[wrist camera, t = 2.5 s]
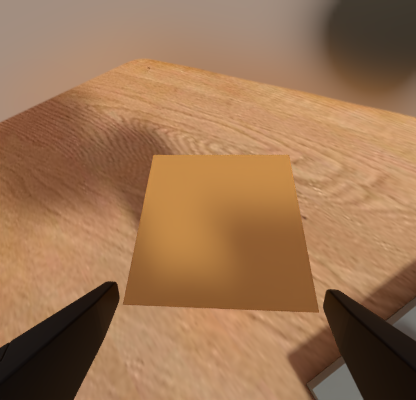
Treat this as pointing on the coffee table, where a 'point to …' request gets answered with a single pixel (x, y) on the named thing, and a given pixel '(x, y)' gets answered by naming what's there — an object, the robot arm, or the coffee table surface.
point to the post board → (338, 371)
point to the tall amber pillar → (221, 236)
